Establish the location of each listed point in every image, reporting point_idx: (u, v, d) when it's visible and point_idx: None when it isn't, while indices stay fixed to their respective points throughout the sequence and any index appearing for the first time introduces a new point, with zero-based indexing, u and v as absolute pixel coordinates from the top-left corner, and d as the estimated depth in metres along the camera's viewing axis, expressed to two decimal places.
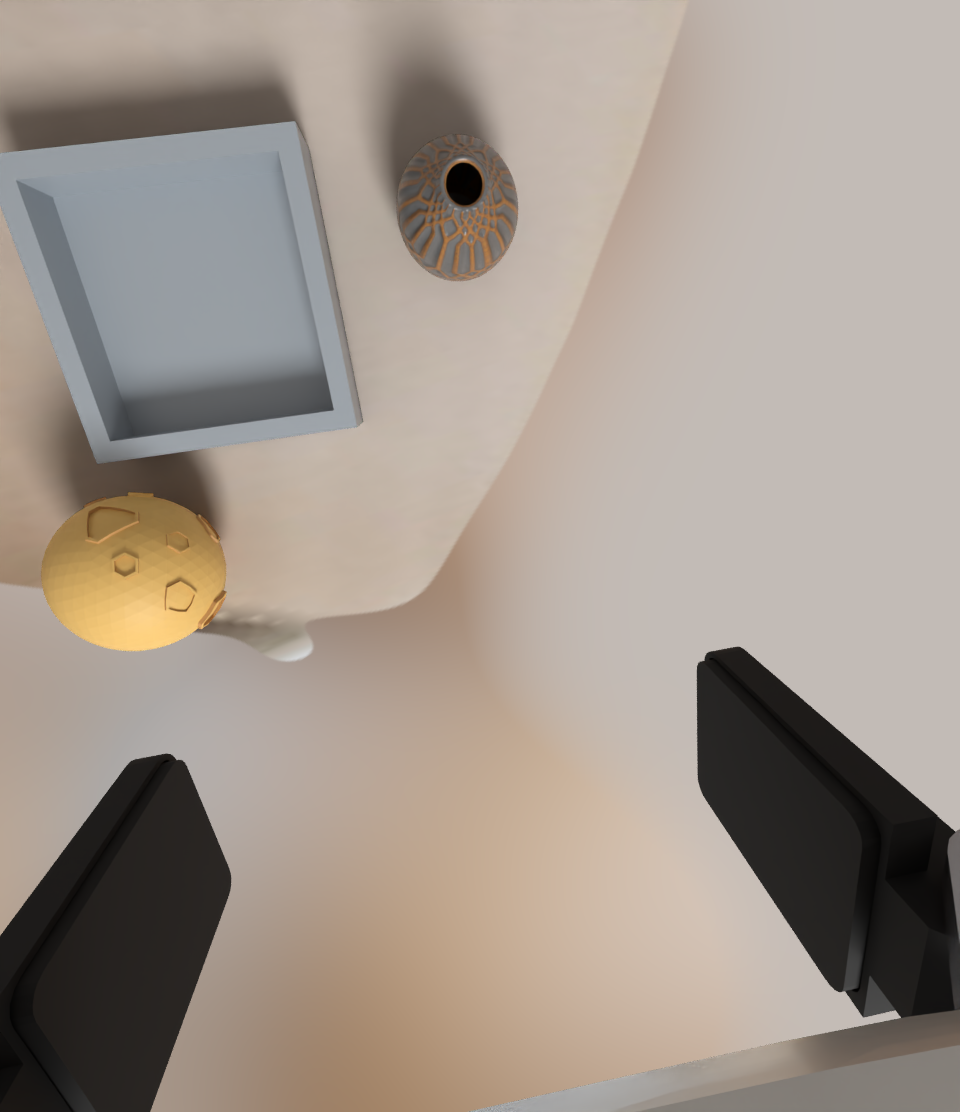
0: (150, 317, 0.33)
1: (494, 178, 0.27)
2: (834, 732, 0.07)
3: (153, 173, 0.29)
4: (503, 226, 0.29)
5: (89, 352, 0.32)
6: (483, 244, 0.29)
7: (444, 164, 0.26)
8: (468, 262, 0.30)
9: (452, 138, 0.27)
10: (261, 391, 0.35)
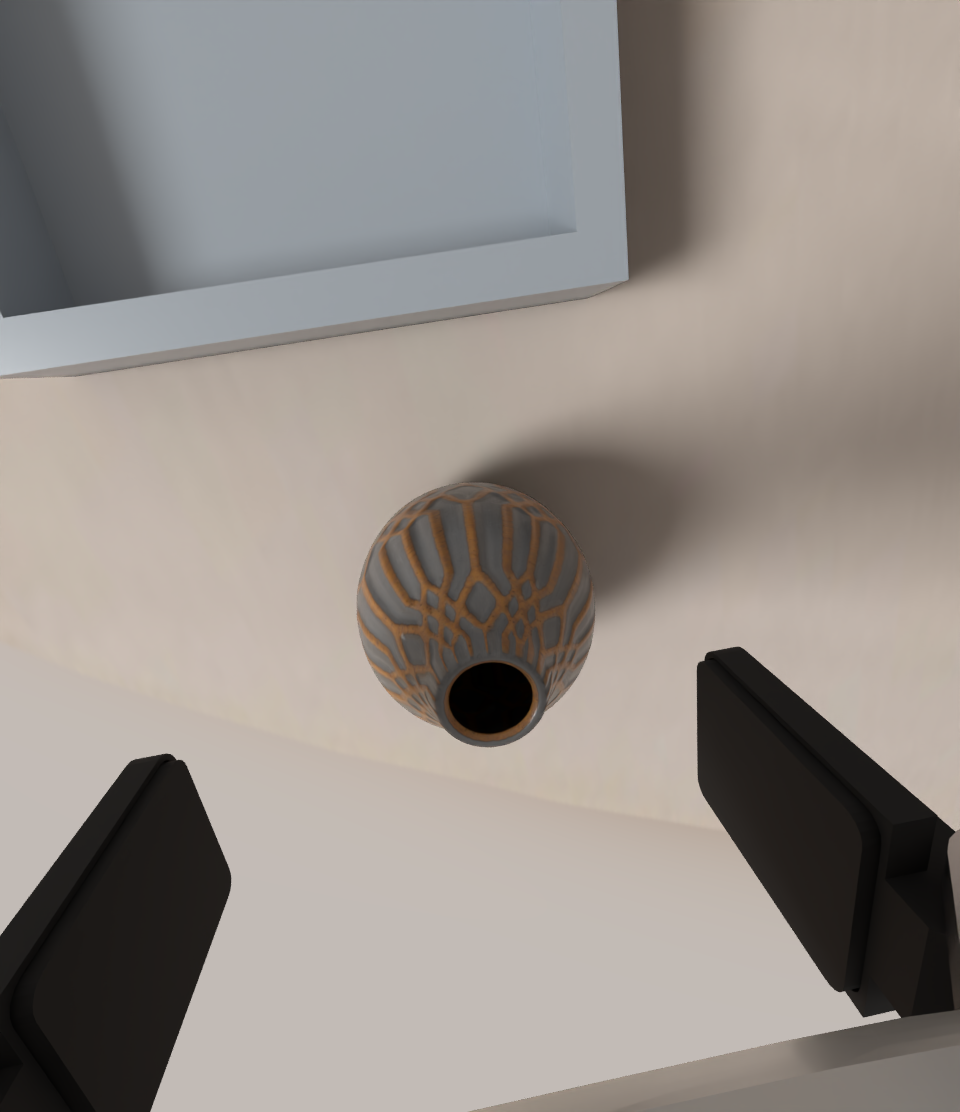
0: None
1: None
2: (834, 732, 0.07)
3: None
4: (436, 725, 0.14)
5: None
6: (398, 696, 0.13)
7: (529, 656, 0.11)
8: (369, 656, 0.14)
9: (585, 626, 0.14)
10: (73, 112, 0.14)
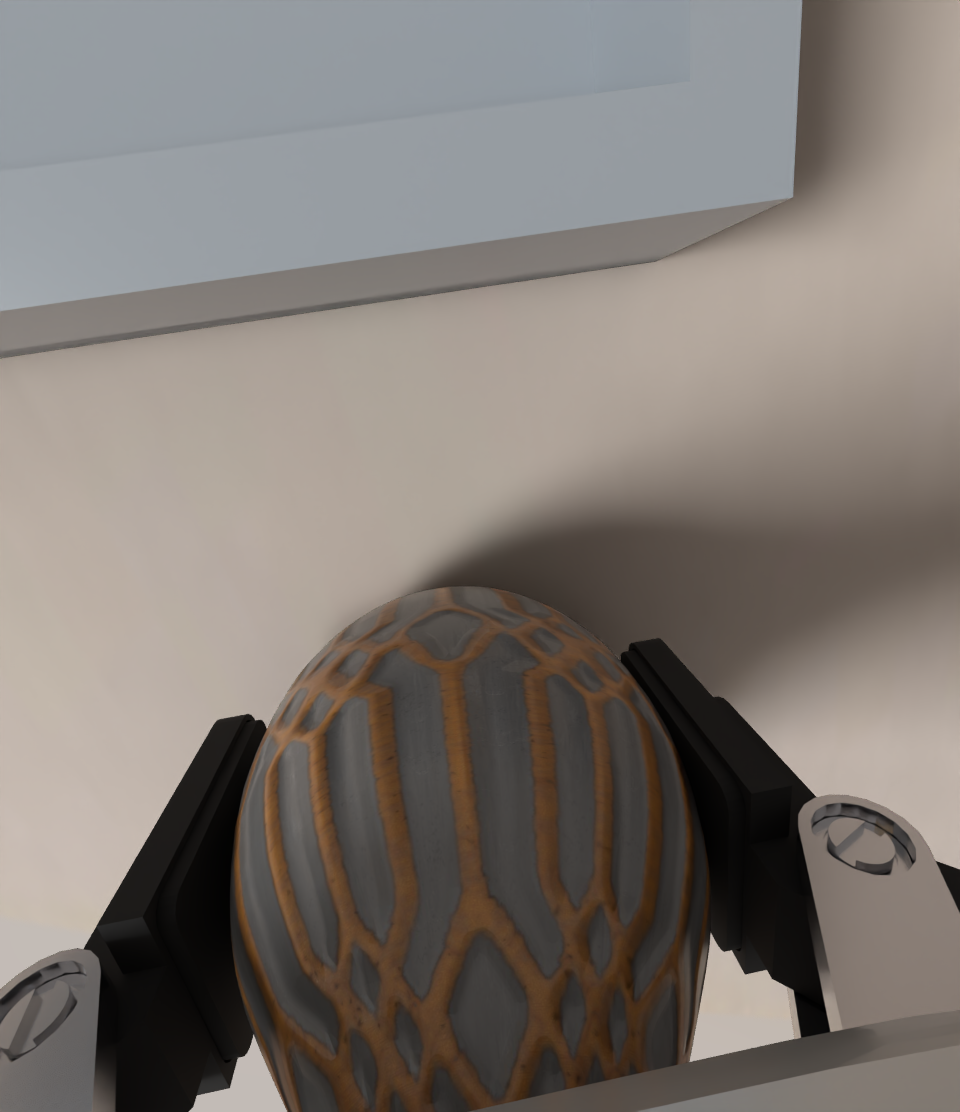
0: None
1: None
2: (722, 714, 0.08)
3: None
4: None
5: None
6: None
7: None
8: None
9: (707, 940, 0.06)
10: None
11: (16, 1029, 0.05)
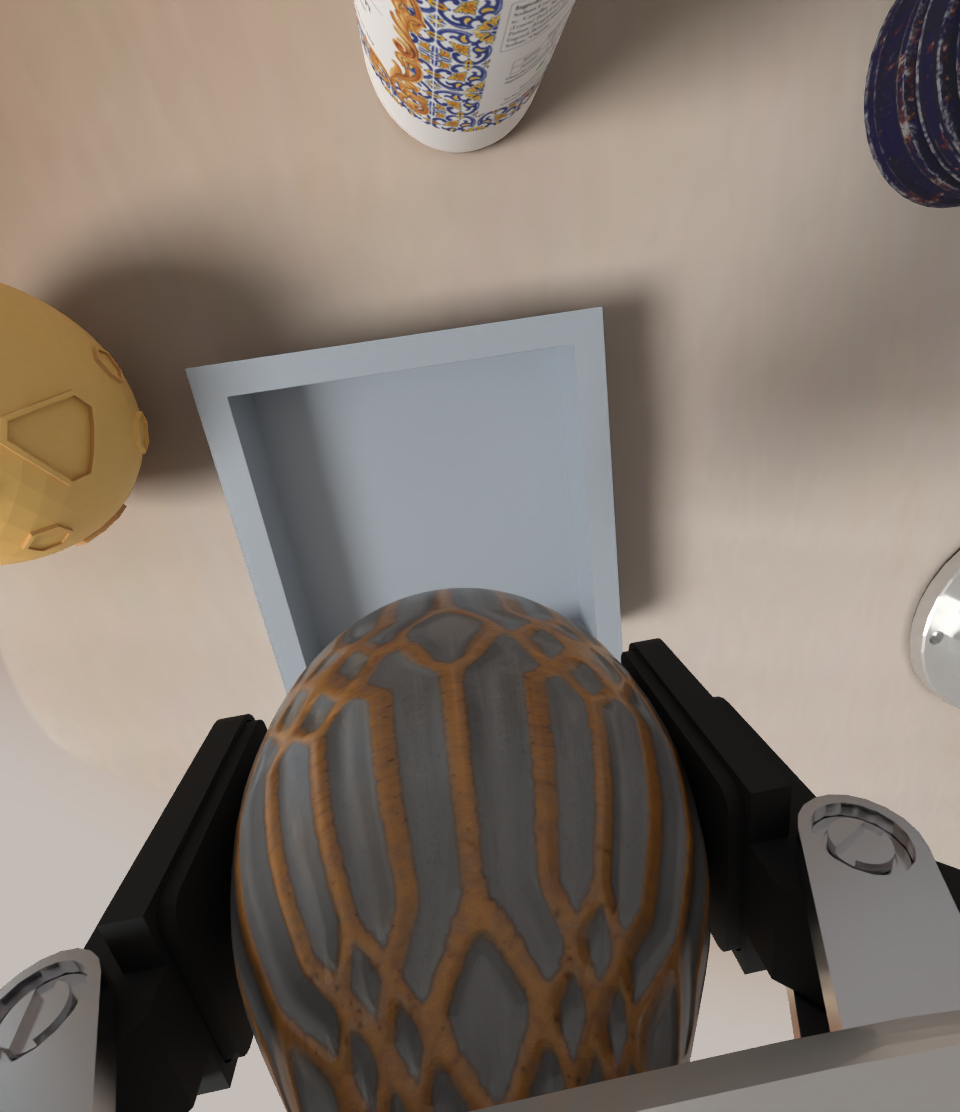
0: (419, 444, 0.25)
1: None
2: (722, 714, 0.08)
3: (579, 496, 0.24)
4: None
5: None
6: None
7: None
8: None
9: (707, 941, 0.06)
10: (335, 572, 0.26)
11: (16, 1029, 0.05)
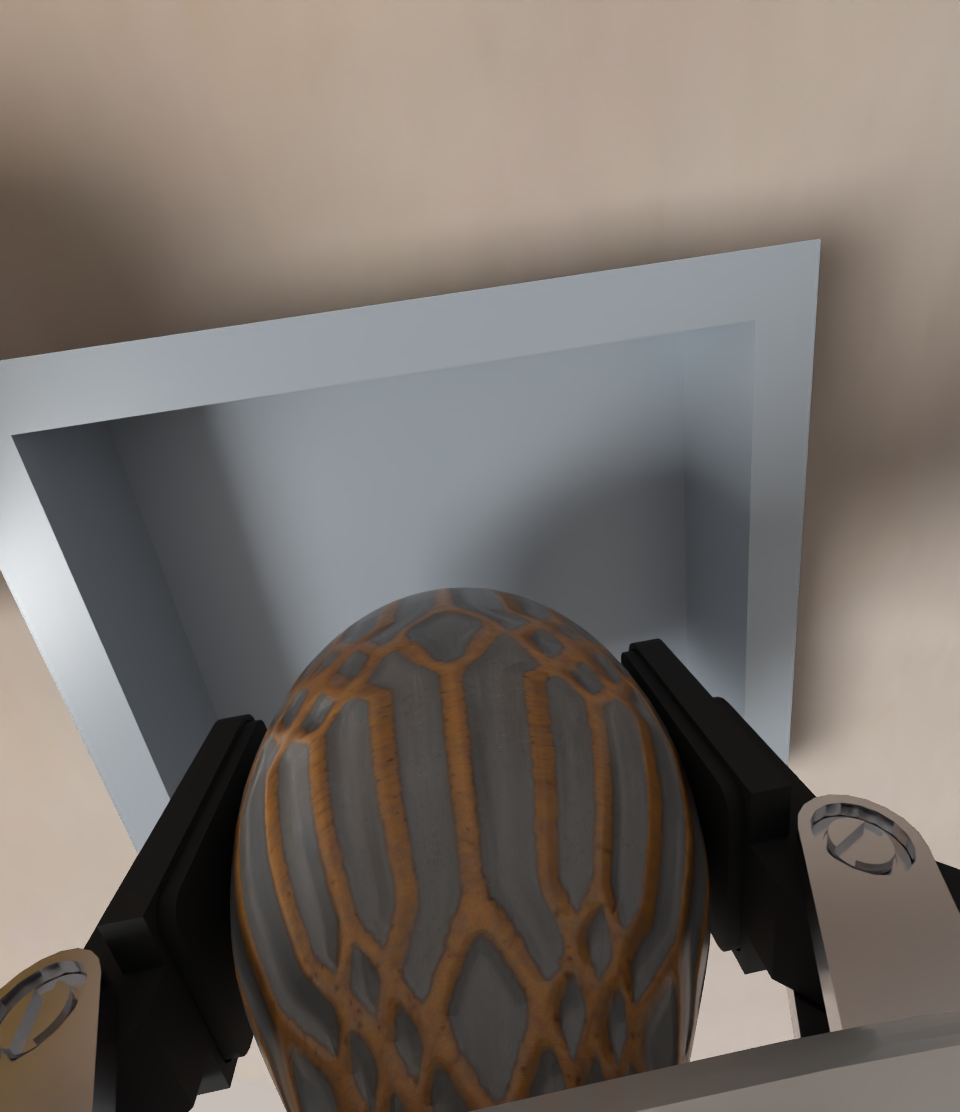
0: (427, 508, 0.14)
1: None
2: (722, 714, 0.08)
3: (719, 605, 0.13)
4: None
5: None
6: None
7: None
8: None
9: (707, 941, 0.06)
10: None
11: (16, 1029, 0.05)
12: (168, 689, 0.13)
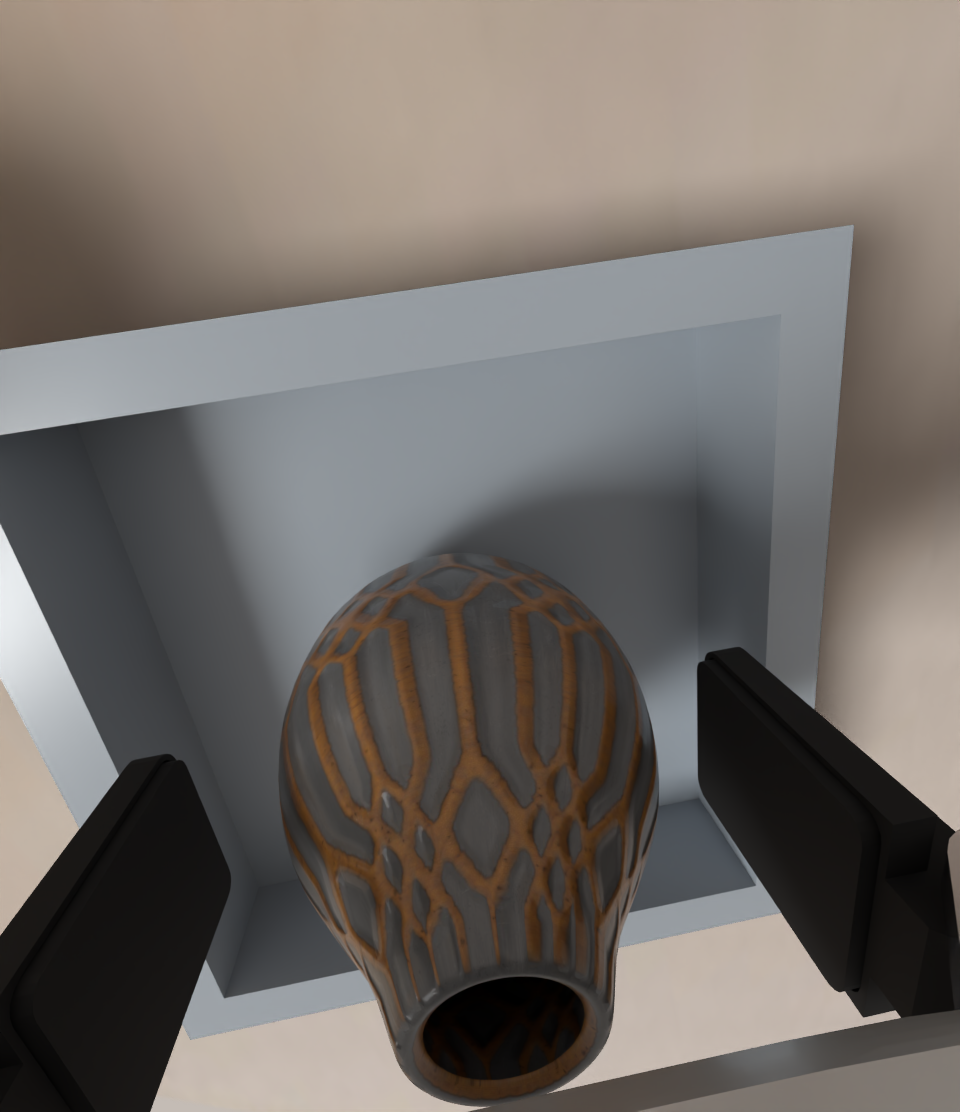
0: (423, 517, 0.13)
1: (536, 1006, 0.07)
2: (834, 732, 0.07)
3: (735, 620, 0.12)
4: None
5: None
6: None
7: (577, 949, 0.06)
8: (293, 865, 0.08)
9: (652, 813, 0.08)
10: (269, 744, 0.14)
11: None
12: (145, 712, 0.12)
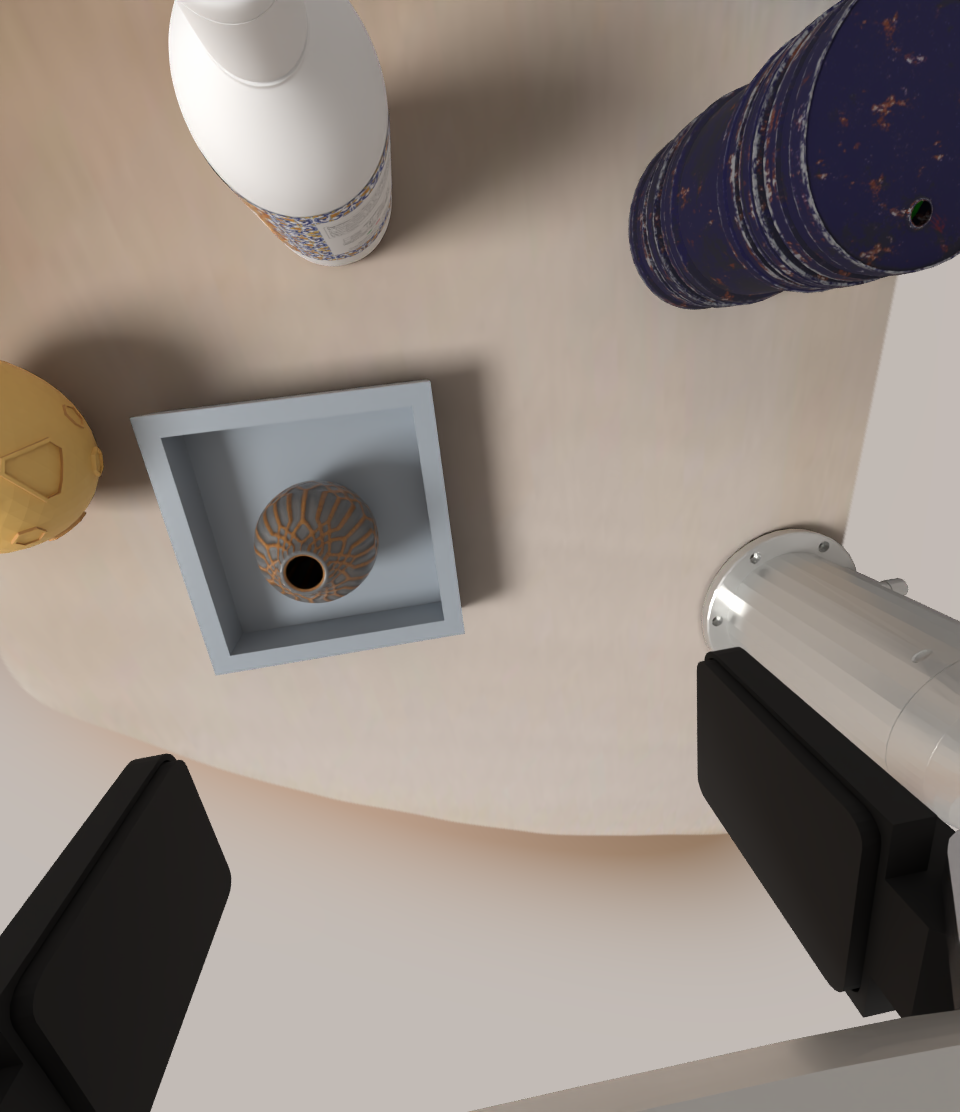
0: (311, 469, 0.33)
1: (322, 592, 0.28)
2: (834, 732, 0.07)
3: None
4: (291, 597, 0.29)
5: None
6: (271, 580, 0.29)
7: (320, 553, 0.27)
8: (258, 563, 0.29)
9: (360, 548, 0.29)
10: (249, 563, 0.35)
11: None
12: (203, 538, 0.32)
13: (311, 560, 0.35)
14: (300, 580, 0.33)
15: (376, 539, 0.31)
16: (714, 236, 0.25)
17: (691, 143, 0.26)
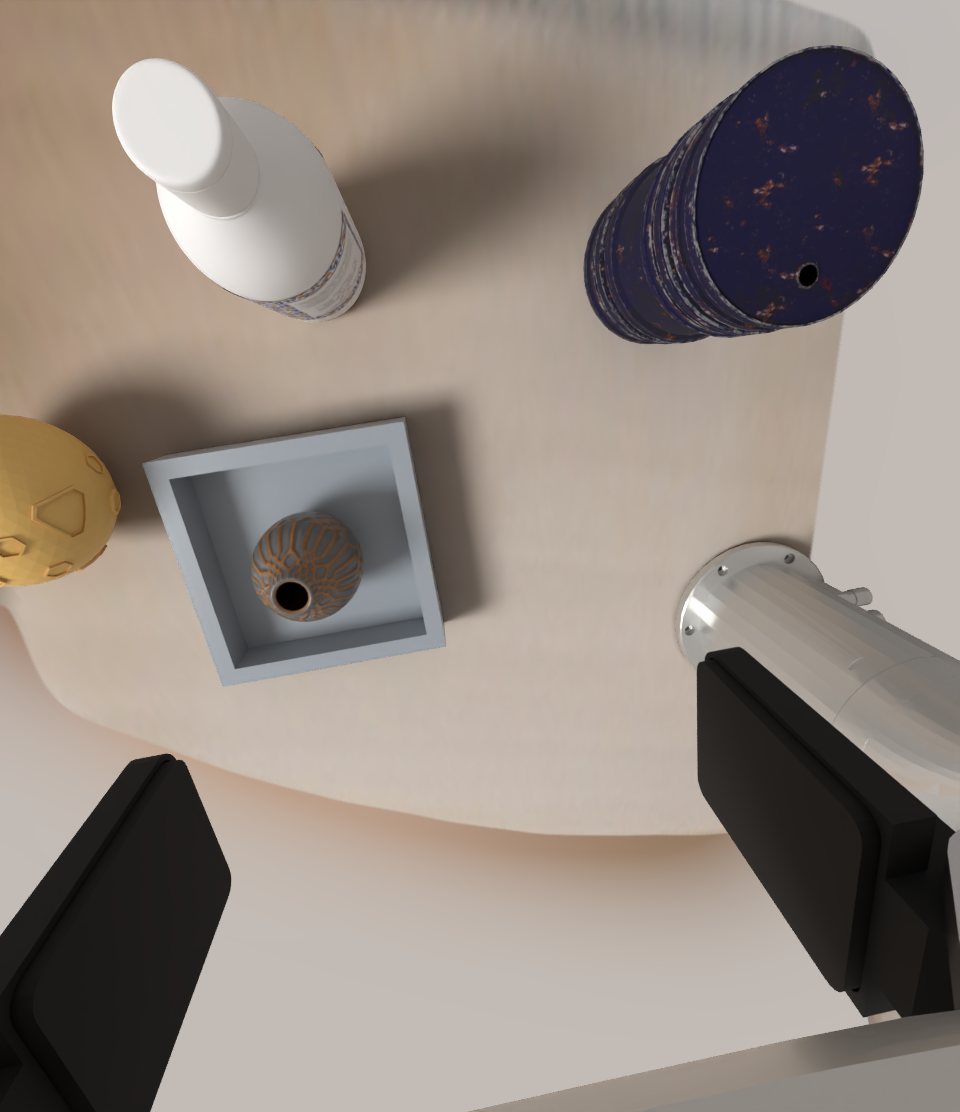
0: (303, 501, 0.37)
1: (310, 613, 0.32)
2: (834, 732, 0.07)
3: None
4: (284, 617, 0.33)
5: None
6: (265, 603, 0.32)
7: (305, 579, 0.30)
8: (254, 587, 0.33)
9: (343, 572, 0.33)
10: (251, 585, 0.39)
11: None
12: (209, 564, 0.36)
13: None
14: (295, 601, 0.37)
15: (359, 563, 0.34)
16: (645, 290, 0.28)
17: (625, 206, 0.29)
